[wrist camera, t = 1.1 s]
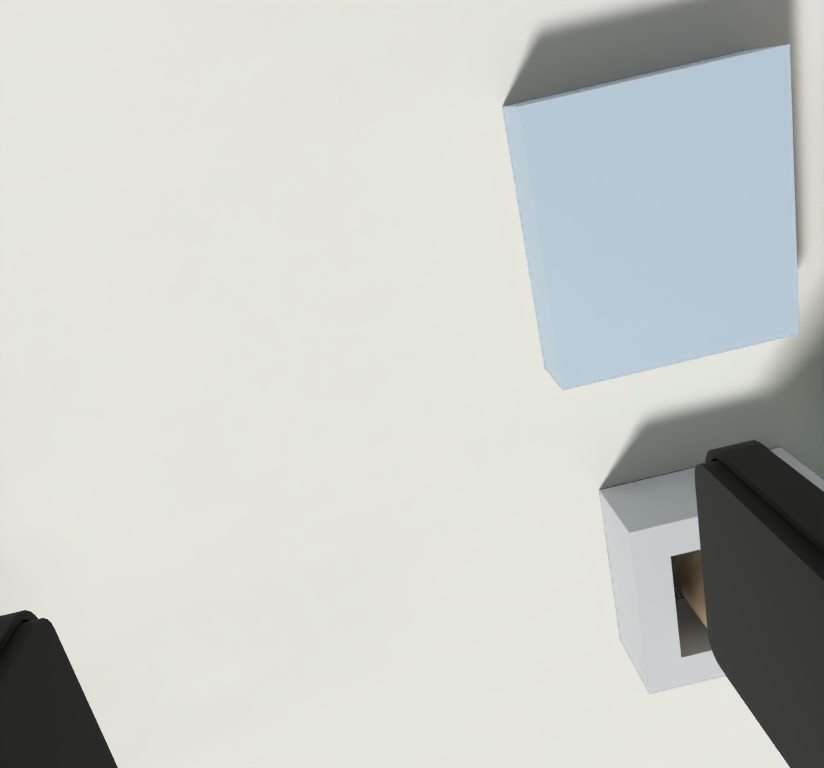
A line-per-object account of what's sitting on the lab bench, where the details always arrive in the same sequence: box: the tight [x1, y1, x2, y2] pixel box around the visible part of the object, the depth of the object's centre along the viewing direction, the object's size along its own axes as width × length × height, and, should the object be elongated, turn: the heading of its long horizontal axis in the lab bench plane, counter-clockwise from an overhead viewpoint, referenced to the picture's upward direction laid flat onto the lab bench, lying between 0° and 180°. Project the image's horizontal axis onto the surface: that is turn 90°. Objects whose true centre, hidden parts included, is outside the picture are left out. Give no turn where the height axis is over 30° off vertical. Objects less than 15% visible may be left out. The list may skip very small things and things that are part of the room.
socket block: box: [599, 447, 824, 694], centre depth 32 cm, size 8×8×4 cm
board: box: [502, 44, 799, 390], centre depth 28 cm, size 10×9×3 cm
